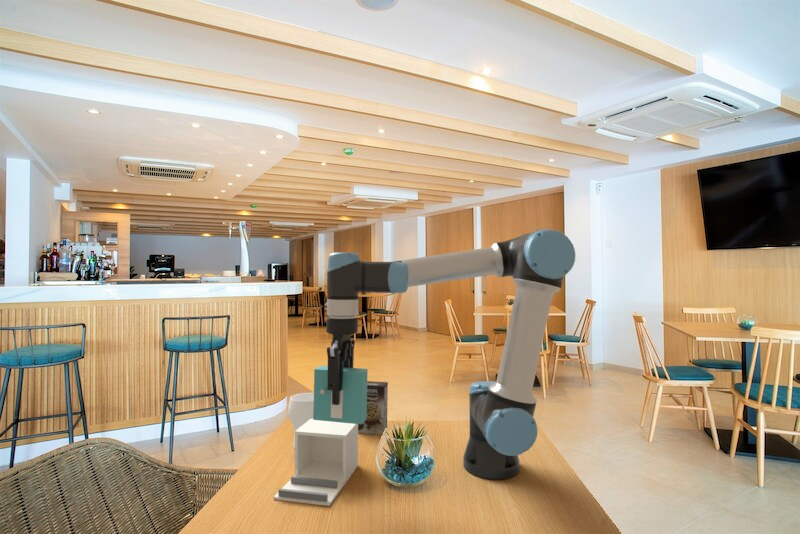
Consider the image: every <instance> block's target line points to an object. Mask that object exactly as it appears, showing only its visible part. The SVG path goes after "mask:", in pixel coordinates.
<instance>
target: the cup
mask: <svg viewBox="0 0 800 534" xmlns="http://www.w3.org/2000/svg"><path fill="white" fill-rule="evenodd" d="M287 408H288V409H287V410H288V411H287V414H288V417H289V421H290V422H291V424H292V426H293V433H294V434H295V431H296V430H297V429H298V428H300V427H301V426H302V425H303V424H305V423H306V422H307V421H308V420H310V419H313V410H314V392H300V393H296V394H293V395H291V396H290V397H289V402H288V406H287ZM292 442H293V444H292V448H293V449H294V450H295V435H294V437H293V441H292Z"/></svg>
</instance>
